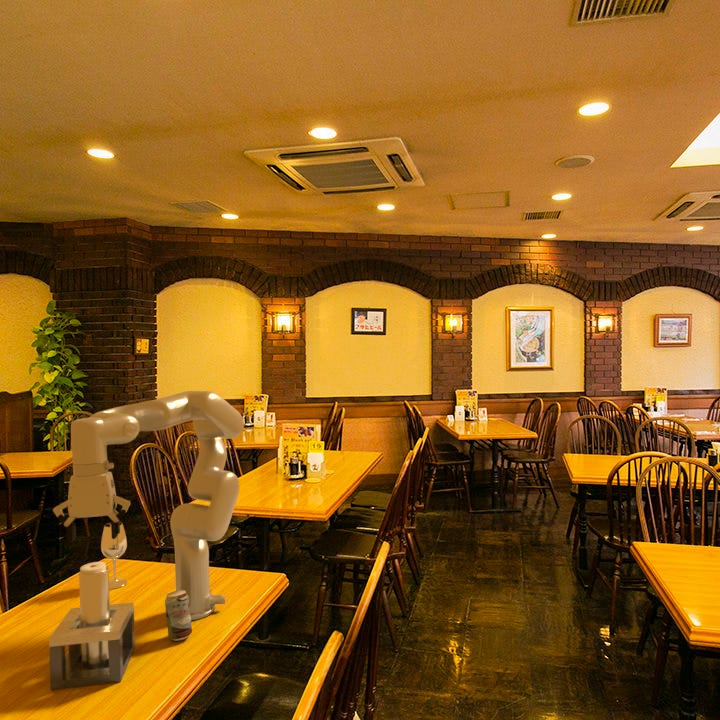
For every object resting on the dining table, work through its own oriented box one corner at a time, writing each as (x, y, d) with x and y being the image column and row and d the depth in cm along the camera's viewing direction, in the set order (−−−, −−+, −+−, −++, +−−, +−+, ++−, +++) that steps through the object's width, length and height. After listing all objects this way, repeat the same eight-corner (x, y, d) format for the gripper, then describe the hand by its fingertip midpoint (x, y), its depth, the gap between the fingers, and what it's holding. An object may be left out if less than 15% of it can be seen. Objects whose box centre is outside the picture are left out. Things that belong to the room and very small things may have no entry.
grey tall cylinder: (100, 676, 132) (96, 571, 131) (76, 673, 133) (72, 569, 133) (117, 661, 138) (114, 561, 138) (94, 659, 139) (90, 559, 139)
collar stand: (134, 648, 144) (133, 602, 144) (120, 682, 129) (119, 630, 129) (72, 655, 141) (71, 608, 141) (50, 690, 127) (49, 638, 126)
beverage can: (179, 646, 145) (177, 600, 145) (160, 639, 149) (159, 594, 148) (197, 635, 150) (196, 591, 150) (179, 628, 154) (178, 585, 154)
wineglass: (121, 589, 181) (119, 528, 181) (97, 589, 181) (96, 528, 181) (131, 579, 189) (130, 520, 189) (108, 579, 189) (107, 521, 189)
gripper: (131, 463, 140) (134, 530, 141) (57, 468, 137) (61, 537, 138) (124, 470, 133) (128, 541, 133) (45, 475, 130) (49, 548, 130)
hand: (93, 539), depth 135 cm, fingers open, 9 cm apart
